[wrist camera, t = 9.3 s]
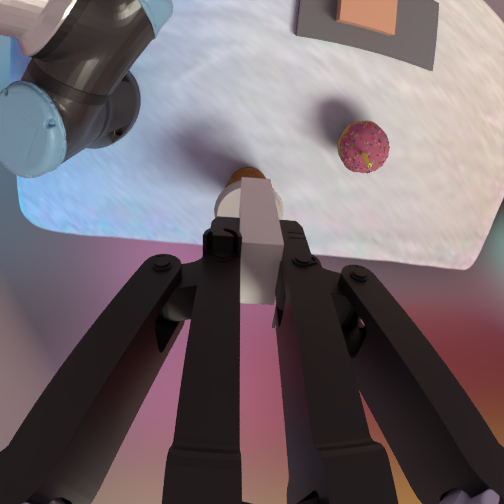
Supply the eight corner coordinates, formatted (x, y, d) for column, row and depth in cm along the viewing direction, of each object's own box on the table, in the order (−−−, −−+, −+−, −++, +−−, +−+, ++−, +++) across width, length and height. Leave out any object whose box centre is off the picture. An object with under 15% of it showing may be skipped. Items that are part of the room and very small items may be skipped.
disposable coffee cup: (277, 208, 55) (284, 243, 44) (223, 212, 55) (218, 248, 45) (275, 156, 49) (283, 180, 39) (216, 160, 50) (209, 186, 39)
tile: (387, 35, 36) (335, 21, 36) (391, 0, 33) (338, -16, 32) (394, 34, 34) (339, 19, 34) (397, -3, 31) (343, -19, 30)
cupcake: (344, 172, 51) (368, 200, 41) (321, 131, 47) (342, 149, 37) (385, 149, 48) (417, 172, 38) (364, 107, 44) (396, 120, 34)
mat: (295, 35, 38) (296, 34, 37) (303, -38, 31) (304, -40, 30) (429, 70, 40) (432, 70, 39) (435, 3, 32) (438, 3, 31)
